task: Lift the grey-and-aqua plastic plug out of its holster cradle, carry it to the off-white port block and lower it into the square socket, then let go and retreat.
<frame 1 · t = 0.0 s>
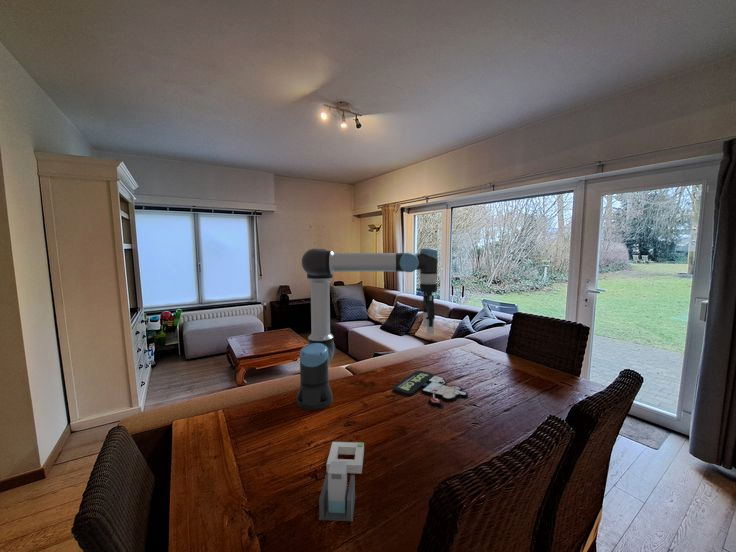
hand: (427, 329, 134), 28 cm above the table, fingers open, 13 cm apart
sign: (433, 391, 136), on the table
holster: (338, 508, 73), on the table
port: (346, 462, 89), on the table
plug: (338, 505, 73), point 1 cm above the table, touching holster
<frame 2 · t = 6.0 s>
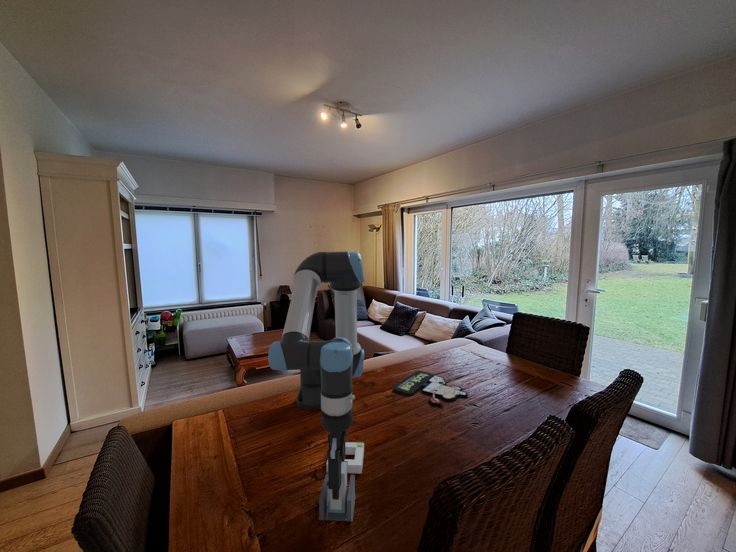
hand: (337, 499, 73), 2 cm above the table, fingers closed on plug, 4 cm apart
plug: (338, 505, 73), point 1 cm above the table, touching gripper, holster
everything else where it was.
when the fingers open (4 cm above the table, at t = 10.5 s): plug drops 2 cm, resting in port.
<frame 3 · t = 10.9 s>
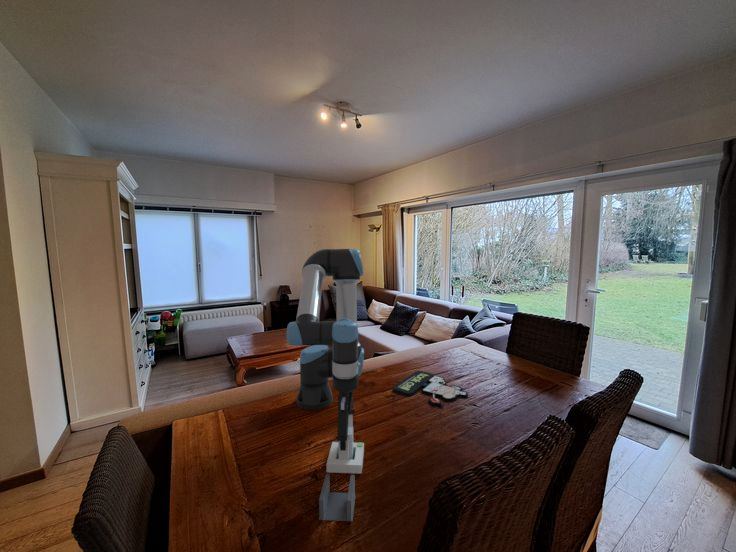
hand: (346, 445, 89), 5 cm above the table, fingers open, 10 cm apart
plug: (346, 462, 89), resting in port
everything else where it was.
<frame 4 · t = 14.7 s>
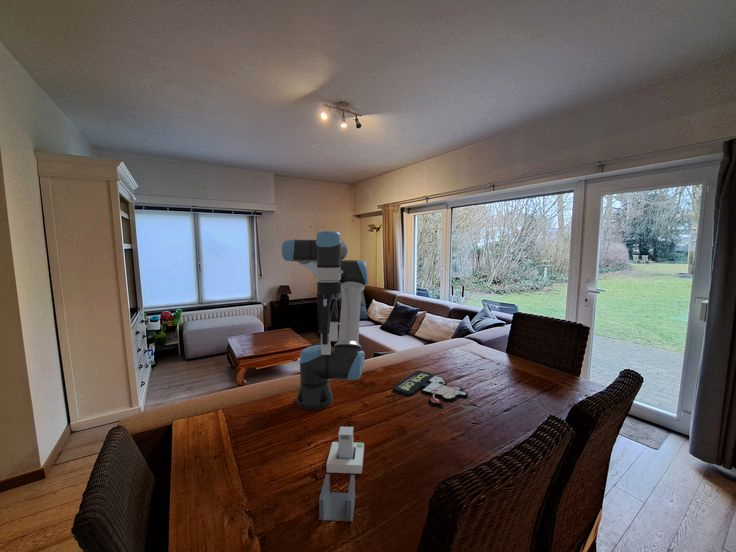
hand: (329, 347, 95), 33 cm above the table, fingers open, 13 cm apart
nothing on the table moved.
at the end: plug 0.0 cm off-centre on the port, point 0.0 cm above the port's base; plug tilted 0°; the gripper is holding nothing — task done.
